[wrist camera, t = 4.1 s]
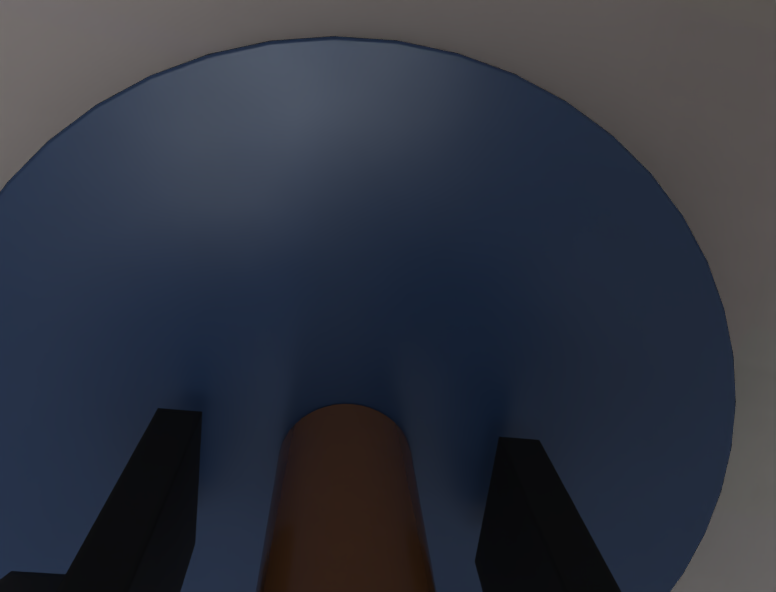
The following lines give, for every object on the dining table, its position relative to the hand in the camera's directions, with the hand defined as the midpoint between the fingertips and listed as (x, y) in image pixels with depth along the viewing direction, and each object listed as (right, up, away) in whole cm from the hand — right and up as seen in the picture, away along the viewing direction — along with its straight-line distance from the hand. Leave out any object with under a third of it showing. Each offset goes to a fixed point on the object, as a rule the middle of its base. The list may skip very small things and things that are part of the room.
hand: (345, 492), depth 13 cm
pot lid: (0, +1, +2) cm, 2 cm away
